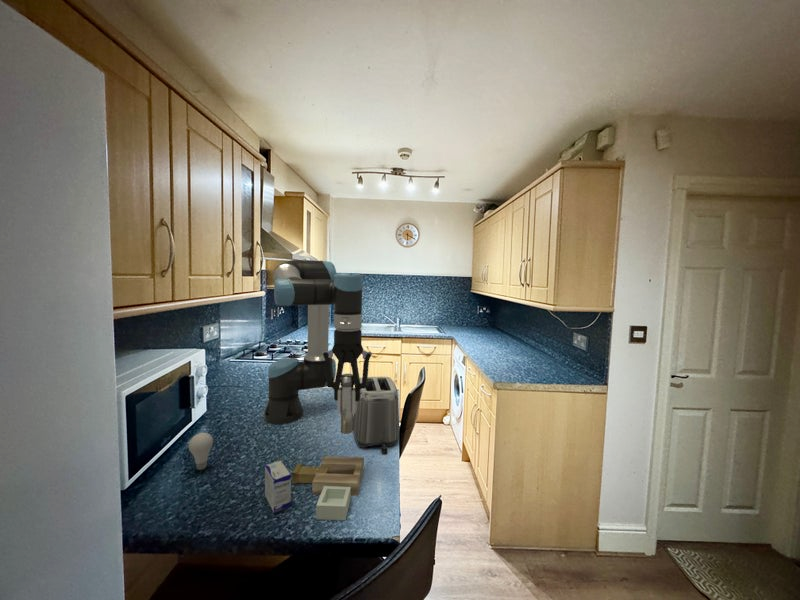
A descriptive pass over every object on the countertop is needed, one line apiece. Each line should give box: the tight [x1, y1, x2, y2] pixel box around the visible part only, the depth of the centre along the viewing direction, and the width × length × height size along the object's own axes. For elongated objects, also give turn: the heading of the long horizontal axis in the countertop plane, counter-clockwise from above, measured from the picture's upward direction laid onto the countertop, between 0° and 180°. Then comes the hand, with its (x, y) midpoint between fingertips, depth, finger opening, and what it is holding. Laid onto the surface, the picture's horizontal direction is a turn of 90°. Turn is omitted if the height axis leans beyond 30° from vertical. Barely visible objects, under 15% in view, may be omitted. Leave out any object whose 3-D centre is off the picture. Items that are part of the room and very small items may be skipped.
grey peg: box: [340, 373, 355, 435], centre depth 88 cm, size 4×4×16 cm
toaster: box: [352, 376, 400, 455], centre depth 116 cm, size 17×30×19 cm, turn 9°
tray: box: [315, 486, 352, 521], centre depth 78 cm, size 7×7×4 cm
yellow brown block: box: [291, 462, 329, 485], centre depth 89 cm, size 5×9×3 cm, turn 89°
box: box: [264, 460, 292, 514], centre depth 80 cm, size 8×4×9 cm, turn 38°
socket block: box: [311, 455, 365, 497], centre depth 89 cm, size 12×12×4 cm
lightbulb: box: [188, 432, 214, 471], centre depth 93 cm, size 6×6×11 cm
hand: (347, 411), depth 88 cm, fingers closed on grey peg, 3 cm apart
